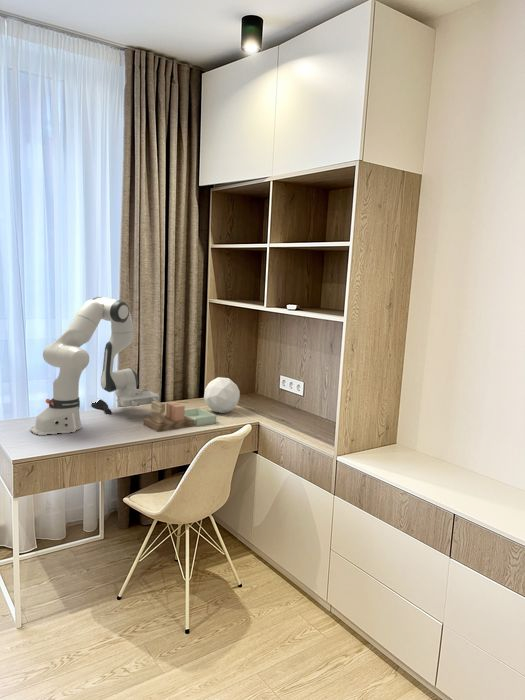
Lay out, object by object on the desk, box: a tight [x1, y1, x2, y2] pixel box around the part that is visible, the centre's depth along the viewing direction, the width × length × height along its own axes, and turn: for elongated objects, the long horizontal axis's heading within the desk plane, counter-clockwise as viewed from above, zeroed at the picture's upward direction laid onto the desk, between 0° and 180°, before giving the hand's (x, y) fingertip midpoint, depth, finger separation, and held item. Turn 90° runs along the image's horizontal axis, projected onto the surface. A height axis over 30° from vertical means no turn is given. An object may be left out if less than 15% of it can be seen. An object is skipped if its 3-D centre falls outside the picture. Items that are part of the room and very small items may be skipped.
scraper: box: [150, 400, 166, 423], centre depth 258 cm, size 3×8×9 cm, turn 39°
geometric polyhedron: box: [203, 376, 241, 414], centre depth 291 cm, size 19×20×20 cm
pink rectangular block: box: [165, 401, 180, 419], centre depth 266 cm, size 5×4×7 cm
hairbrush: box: [90, 399, 113, 415], centre depth 287 cm, size 8×4×25 cm
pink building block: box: [171, 403, 186, 421], centre depth 263 cm, size 5×4×7 cm
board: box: [142, 414, 195, 432], centre depth 263 cm, size 20×14×3 cm
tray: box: [184, 407, 217, 427], centre depth 273 cm, size 12×17×4 cm
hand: (146, 403), depth 267 cm, fingers open, 8 cm apart
